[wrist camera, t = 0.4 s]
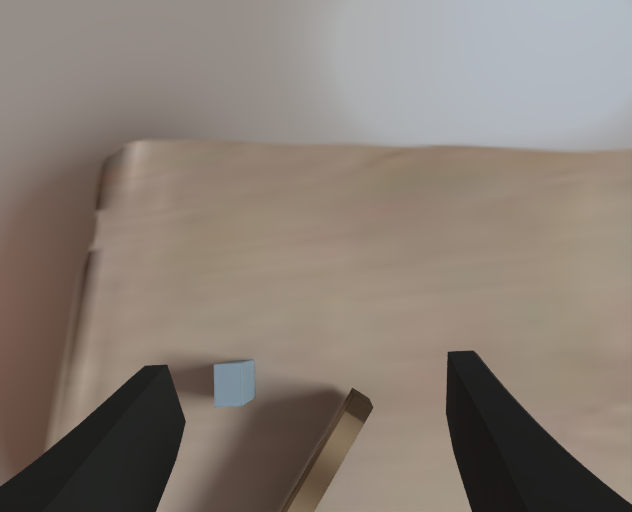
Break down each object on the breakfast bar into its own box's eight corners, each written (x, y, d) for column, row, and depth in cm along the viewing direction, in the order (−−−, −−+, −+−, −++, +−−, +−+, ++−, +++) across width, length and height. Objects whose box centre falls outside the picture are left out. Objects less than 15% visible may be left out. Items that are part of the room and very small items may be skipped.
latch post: (255, 397, 38) (242, 405, 33) (231, 398, 38) (214, 407, 33) (253, 359, 38) (241, 362, 33) (230, 361, 38) (213, 364, 33)
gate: (273, 568, 34) (261, 609, 29) (253, 554, 34) (238, 591, 29) (370, 399, 36) (375, 409, 31) (350, 386, 36) (352, 394, 31)
